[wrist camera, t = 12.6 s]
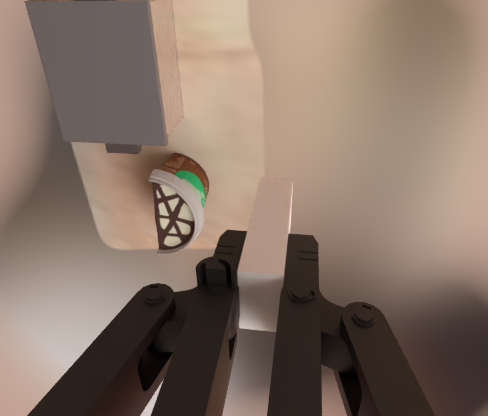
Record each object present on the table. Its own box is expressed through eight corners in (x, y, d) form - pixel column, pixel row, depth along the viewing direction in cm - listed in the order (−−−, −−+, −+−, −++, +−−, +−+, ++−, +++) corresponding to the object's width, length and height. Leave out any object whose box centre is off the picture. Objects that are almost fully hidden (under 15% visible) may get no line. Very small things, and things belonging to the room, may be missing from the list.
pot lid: (29, 0, 39) (24, 1, 38) (149, -1, 37) (146, 0, 36) (67, 138, 46) (64, 141, 46) (168, 143, 45) (165, 146, 44)
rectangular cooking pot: (68, -27, 44) (24, -25, 38) (169, -28, 43) (142, -26, 36) (102, 130, 54) (73, 153, 48) (185, 133, 53) (166, 158, 46)
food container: (216, 221, 60) (200, 263, 51) (178, 216, 61) (156, 257, 52) (217, 147, 53) (198, 182, 45) (173, 143, 54) (147, 176, 46)
